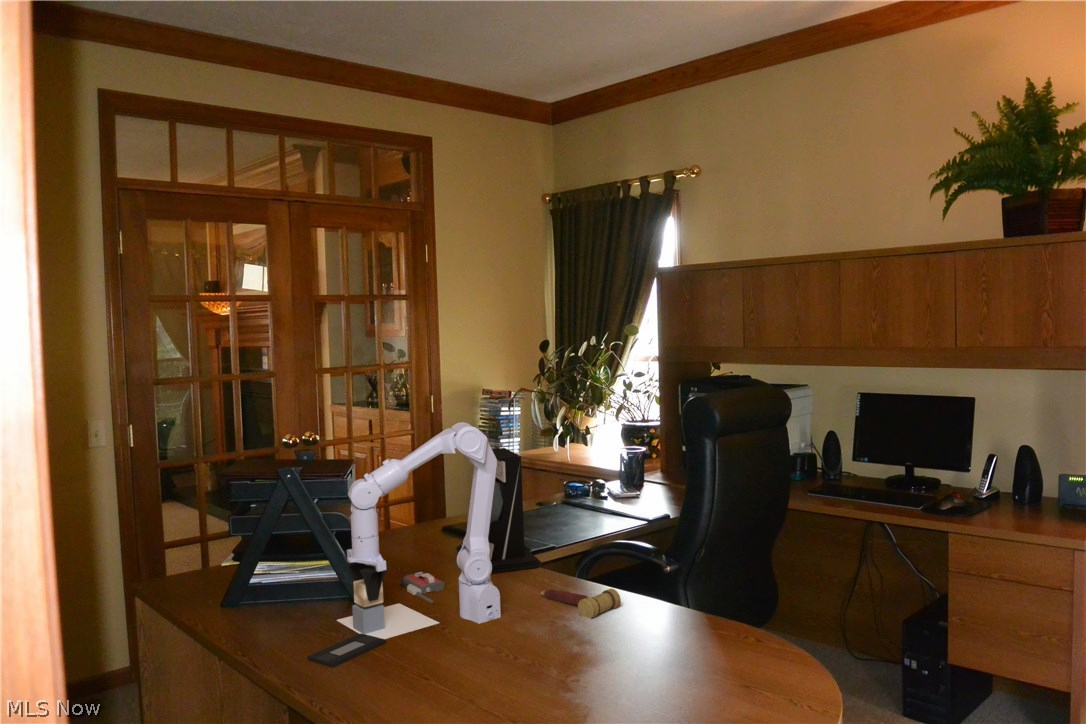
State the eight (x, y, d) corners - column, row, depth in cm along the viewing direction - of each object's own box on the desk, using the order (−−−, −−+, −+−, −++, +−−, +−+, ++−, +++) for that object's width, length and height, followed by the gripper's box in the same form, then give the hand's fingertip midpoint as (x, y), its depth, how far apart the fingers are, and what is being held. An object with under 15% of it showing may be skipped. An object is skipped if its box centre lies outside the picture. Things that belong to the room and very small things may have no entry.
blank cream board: (439, 627, 183) (439, 622, 183) (374, 646, 173) (373, 642, 173) (399, 607, 197) (399, 603, 197) (336, 624, 187) (336, 620, 187)
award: (454, 548, 250) (451, 448, 248) (514, 541, 255) (511, 444, 254) (477, 576, 220) (473, 463, 219) (544, 568, 226) (541, 458, 225)
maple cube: (383, 602, 181) (382, 581, 181) (364, 607, 178) (363, 586, 178) (373, 597, 184) (372, 577, 184) (354, 602, 181) (353, 581, 181)
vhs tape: (307, 666, 165) (307, 656, 165) (361, 642, 177) (360, 633, 177) (333, 673, 161) (332, 663, 161) (386, 649, 172) (386, 639, 172)
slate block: (384, 628, 181) (383, 605, 181) (363, 634, 178) (362, 611, 177) (374, 622, 185) (373, 600, 185) (353, 628, 182) (352, 605, 181)
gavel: (525, 588, 199) (554, 578, 206) (527, 607, 199) (556, 597, 206) (591, 600, 185) (620, 589, 192) (593, 621, 185) (621, 609, 192)
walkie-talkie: (392, 588, 213) (428, 609, 197) (392, 571, 213) (427, 590, 196) (423, 581, 218) (461, 601, 202) (423, 564, 218) (460, 583, 201)
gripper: (333, 532, 183) (336, 593, 184) (363, 544, 172) (366, 609, 173) (362, 527, 188) (365, 586, 188) (394, 538, 177) (396, 601, 177)
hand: (367, 597), depth 181 cm, fingers closed on maple cube, 4 cm apart
